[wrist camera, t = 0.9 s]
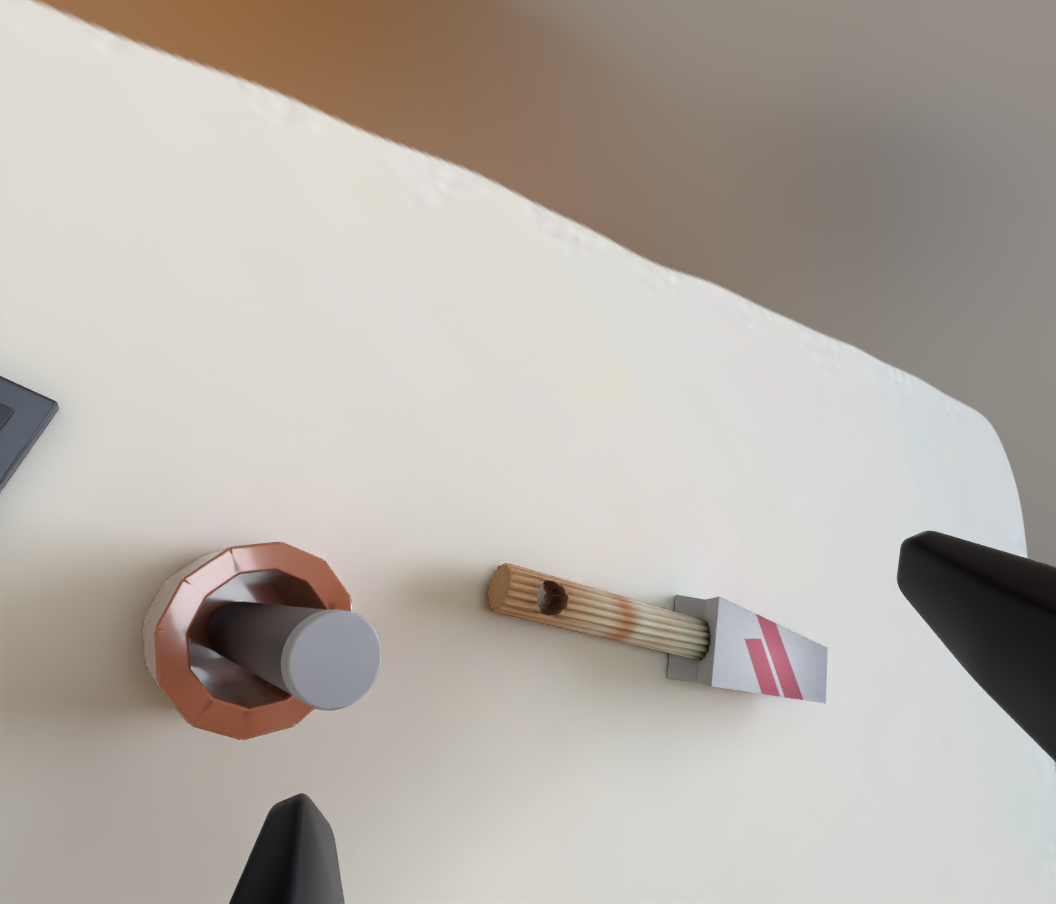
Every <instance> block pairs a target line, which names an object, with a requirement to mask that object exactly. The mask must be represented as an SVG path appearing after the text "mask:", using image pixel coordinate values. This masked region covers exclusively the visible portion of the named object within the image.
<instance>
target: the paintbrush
mask: <svg viewBox="0 0 1056 904" xmlns="http://www.w3.org/2000/svg"><path fill="white" fill-rule="evenodd" d="M490 583H491V584H490V586H489V593H488V596H487V597H488V598H489V602H488V604H489V605H490V606H491V609H492V610H493V611H496V612H499V613H504V614H508V615H512V616H516V617H521V618H525V619H529V620H533V621H537V622H541V623H545V624H549V625H554V626H558V627H562V628H566V629H570V630H574V631H578V632H582V633H586V634H591V635H595V636H599V637H603V638H608V639H612V640H616V641H620V642H625V643H629V644H633V645H637V646H641V647H646V648H650V649H654V650H658V651H663V652H667V653H669V663H668V672H667V678H672V679H679V680H685V681H691V682H697V683H701V684H705V685H708V686H712V687H719V688H726V689H733V690H739V691H746V692H753V693H759V694H766V695H773V696H780V697H786V698H793V699H800V700H806V701H813V702H820V703H826V674H827V647H825V646H823V645H820V644H818V643H816V642H814V641H812V640H810V639H808V638H806V637H804V636H801V635H799V634H797V633H795V632H793V631H791V630H789V629H787V628H784V627H782V626H780V625H778V624H776V623H774V622H772V621H770V620H768V619H765V618H763V617H761V616H759V615H757V614H755V613H753V612H751V611H749V610H746V609H744V608H742V607H740V606H738V605H736V604H734V603H732V602H729V601H727V600H725V599H723V598H721V597H716V598H711V599H706V600H703V599H697V598H691V597H685V596H679V595H676V598H675V607H674V612H673V611H670V610H666V609H663V608H660V607H656V606H653V605H650V604H647V603H643V602H640V601H637V600H633V599H630V598H626V597H623V596H619V595H616V594H612V593H609V592H605V591H602V590H598V589H595V588H592V587H588V586H585V585H581V584H578V583H574V582H571V581H567V580H564V579H560V578H557V577H554V576H550V575H547V574H543V573H540V572H536V571H533V570H529V569H526V568H522V567H519V566H516V565H512V564H507V563H505V564H502V566H498V569H497V571H495V572H494V575H493V578H491V581H490ZM542 584H543V585H544V586H543V588H544V590H545V592H546V594H545V596H544V599H545V603H544V604H543V609H542V610H540V608H539V607H538V605H537V602H538V597H537V594H538V593H539V591H540V589H539V587H540V586H541V585H542Z"/></svg>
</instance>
